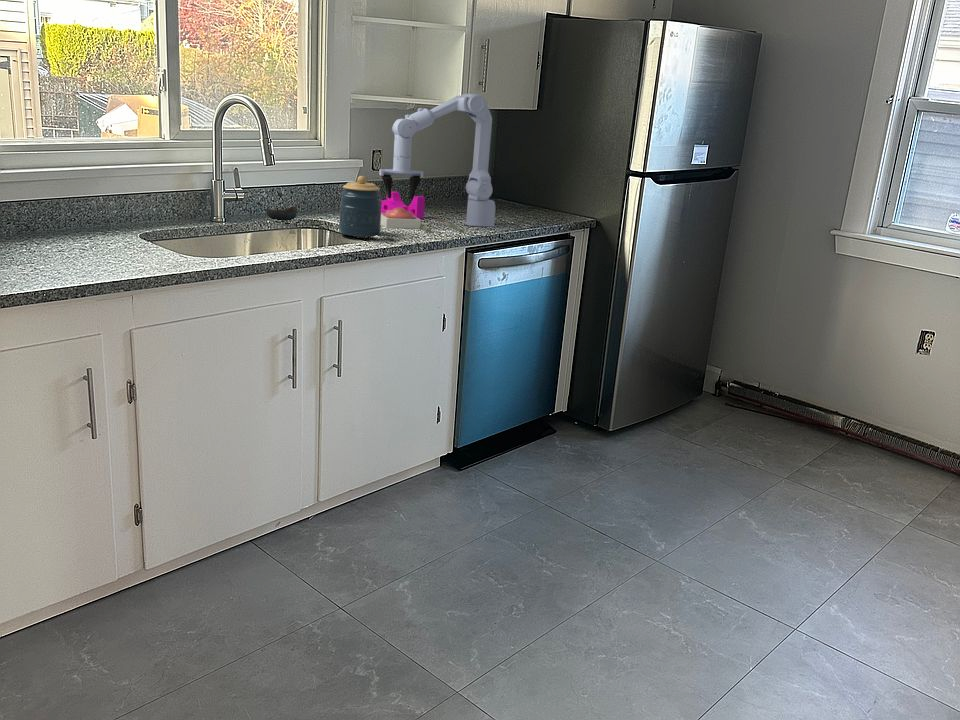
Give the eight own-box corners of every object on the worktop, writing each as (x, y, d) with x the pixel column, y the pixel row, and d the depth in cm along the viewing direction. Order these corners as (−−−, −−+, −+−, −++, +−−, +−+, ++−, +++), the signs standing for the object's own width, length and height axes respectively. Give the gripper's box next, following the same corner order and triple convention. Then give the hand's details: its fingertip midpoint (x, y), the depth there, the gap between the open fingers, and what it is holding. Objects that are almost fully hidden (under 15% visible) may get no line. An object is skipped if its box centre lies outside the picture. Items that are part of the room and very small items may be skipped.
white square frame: (410, 223, 302) (411, 214, 302) (420, 228, 292) (420, 219, 291) (377, 222, 298) (378, 213, 297) (386, 227, 288) (386, 218, 287)
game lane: (433, 217, 321) (433, 214, 321) (463, 232, 291) (464, 230, 291) (398, 216, 317) (398, 213, 317) (426, 231, 287) (426, 229, 286)
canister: (345, 237, 265) (347, 177, 260) (333, 230, 276) (335, 172, 271) (386, 237, 270) (389, 179, 265) (372, 230, 281) (375, 174, 276)
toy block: (381, 213, 315) (382, 191, 313) (393, 212, 320) (394, 191, 318) (411, 219, 307) (412, 197, 304) (423, 218, 311) (425, 196, 309)
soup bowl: (305, 222, 306) (306, 200, 303) (302, 228, 290) (302, 206, 288) (261, 219, 303) (261, 197, 301) (255, 225, 288) (256, 203, 286)
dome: (408, 223, 301) (409, 205, 299) (415, 227, 293) (416, 209, 291) (382, 222, 298) (383, 205, 296) (389, 227, 290) (390, 208, 288)
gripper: (420, 156, 295) (417, 197, 299) (377, 154, 290) (376, 196, 294) (426, 158, 289) (423, 200, 292) (383, 156, 283) (381, 198, 287)
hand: (400, 198), depth 293 cm, fingers open, 7 cm apart
